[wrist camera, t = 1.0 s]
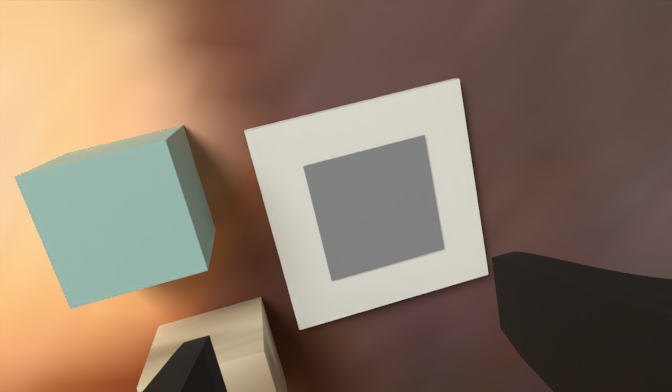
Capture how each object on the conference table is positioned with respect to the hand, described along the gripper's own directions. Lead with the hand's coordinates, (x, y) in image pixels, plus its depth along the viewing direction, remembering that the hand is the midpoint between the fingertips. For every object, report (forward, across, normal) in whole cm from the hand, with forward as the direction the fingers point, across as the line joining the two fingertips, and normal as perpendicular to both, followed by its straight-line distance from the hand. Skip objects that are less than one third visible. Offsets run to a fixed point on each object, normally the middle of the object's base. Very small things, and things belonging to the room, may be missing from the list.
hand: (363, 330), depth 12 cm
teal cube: (+10, +6, -3) cm, 12 cm away
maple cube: (+10, +5, +5) cm, 12 cm away
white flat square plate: (+10, -3, 0) cm, 10 cm away
